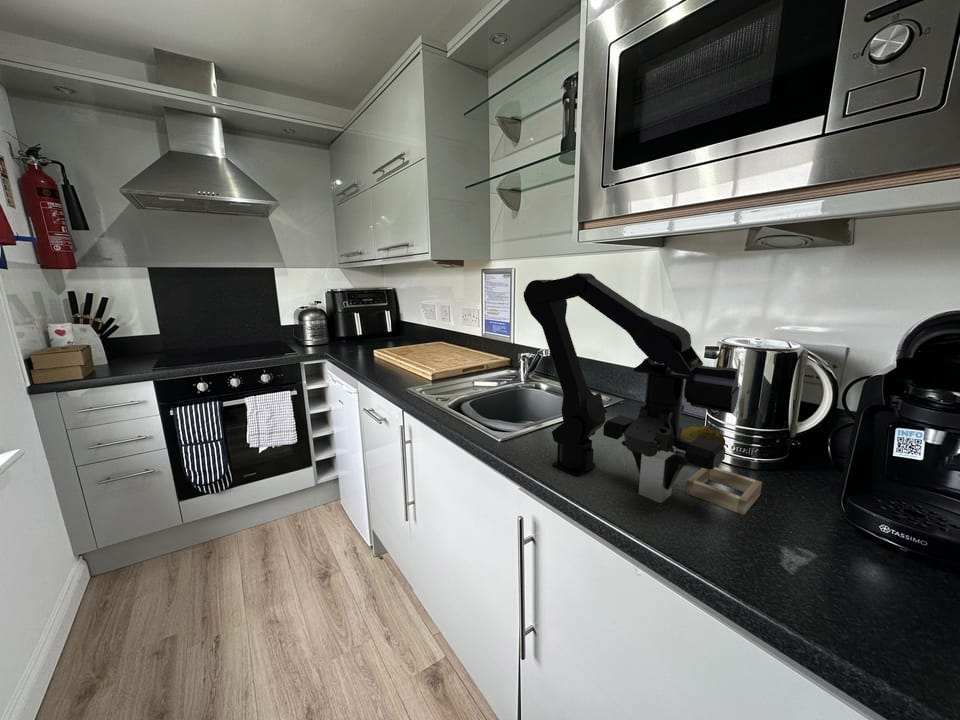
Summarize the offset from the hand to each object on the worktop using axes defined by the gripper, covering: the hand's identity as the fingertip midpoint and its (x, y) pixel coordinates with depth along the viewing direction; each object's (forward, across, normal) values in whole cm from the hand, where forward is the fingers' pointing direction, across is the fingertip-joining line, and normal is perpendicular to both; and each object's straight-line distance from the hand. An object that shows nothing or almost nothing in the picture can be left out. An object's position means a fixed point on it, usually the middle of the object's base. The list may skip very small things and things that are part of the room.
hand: (655, 484), depth 68 cm
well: (+2, +8, +9) cm, 12 cm away
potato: (+2, -2, +19) cm, 19 cm away
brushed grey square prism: (+2, 0, 0) cm, 2 cm away
